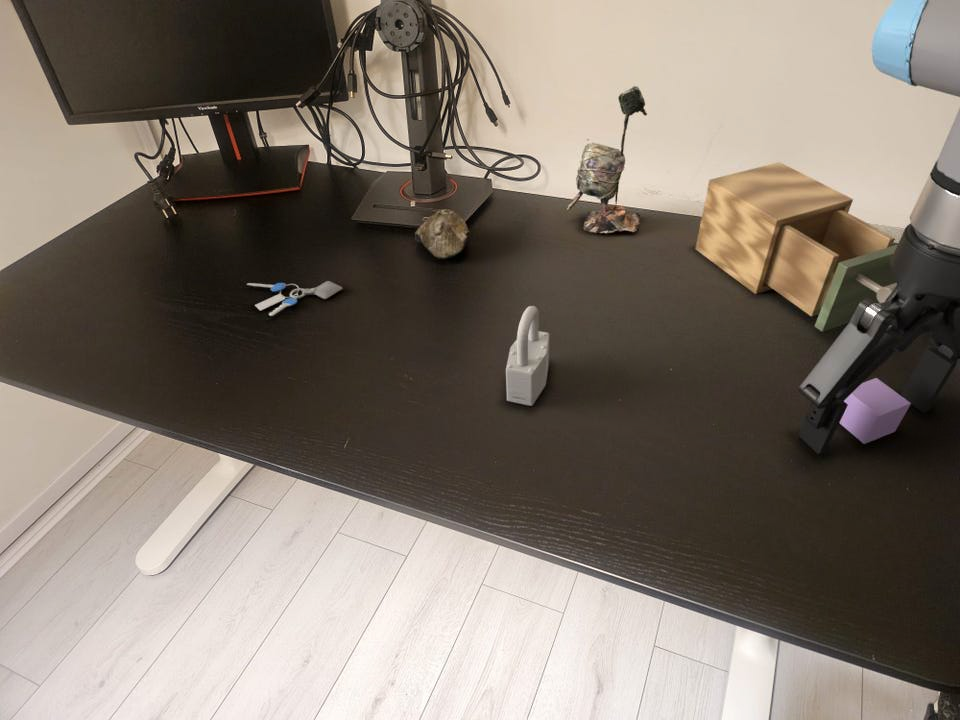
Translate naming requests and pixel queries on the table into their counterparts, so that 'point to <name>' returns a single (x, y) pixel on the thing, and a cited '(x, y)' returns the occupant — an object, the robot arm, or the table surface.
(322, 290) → the key chain
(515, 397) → the padlock
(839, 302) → the pull-out drawer
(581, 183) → the metal wire sculpture
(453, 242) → the fossilized seashell
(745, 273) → the wooden drawer box
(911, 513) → the table surface
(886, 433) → the purple block
